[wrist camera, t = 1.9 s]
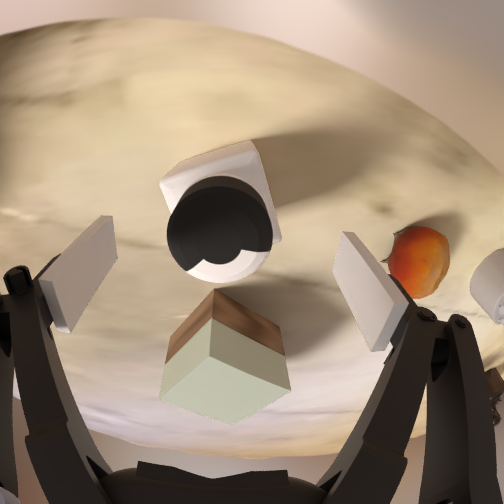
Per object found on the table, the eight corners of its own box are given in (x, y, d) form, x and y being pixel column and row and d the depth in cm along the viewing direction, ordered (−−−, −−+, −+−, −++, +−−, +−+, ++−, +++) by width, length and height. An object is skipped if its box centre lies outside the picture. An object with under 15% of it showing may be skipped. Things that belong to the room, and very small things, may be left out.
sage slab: (165, 364, 30) (158, 398, 26) (211, 317, 27) (209, 356, 23) (231, 393, 34) (232, 425, 29) (284, 355, 30) (291, 390, 26)
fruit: (380, 219, 26) (447, 252, 21) (409, 210, 31) (463, 236, 25) (362, 284, 30) (418, 320, 25) (393, 266, 34) (441, 294, 29)
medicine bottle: (176, 162, 24) (133, 205, 14) (251, 138, 24) (266, 161, 13) (201, 229, 28) (184, 308, 17) (271, 209, 27) (296, 279, 16)
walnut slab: (170, 335, 35) (164, 364, 30) (214, 287, 31) (211, 316, 27) (231, 365, 38) (232, 393, 34) (279, 325, 35) (284, 355, 30)
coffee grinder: (497, 365, 53) (522, 405, 38) (478, 388, 59) (499, 427, 43) (471, 375, 52) (498, 423, 36) (451, 399, 57) (473, 444, 41)
